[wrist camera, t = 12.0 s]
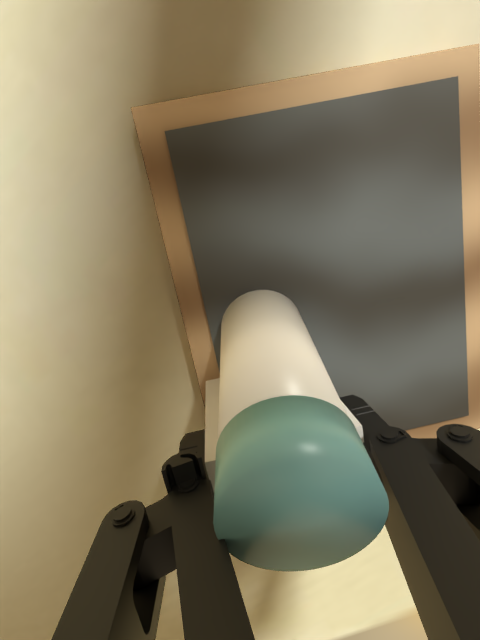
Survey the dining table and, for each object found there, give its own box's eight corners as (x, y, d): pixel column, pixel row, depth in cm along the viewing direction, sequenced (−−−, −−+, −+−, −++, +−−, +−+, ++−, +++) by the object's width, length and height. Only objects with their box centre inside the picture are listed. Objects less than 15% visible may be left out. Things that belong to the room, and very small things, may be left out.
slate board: (135, 115, 16) (129, 105, 15) (463, 55, 16) (482, 41, 15) (224, 477, 21) (224, 491, 19) (473, 418, 21) (488, 428, 20)
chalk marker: (206, 307, 16) (182, 491, 7) (286, 275, 16) (366, 431, 7) (239, 372, 18) (252, 586, 9) (312, 345, 18) (404, 544, 9)
